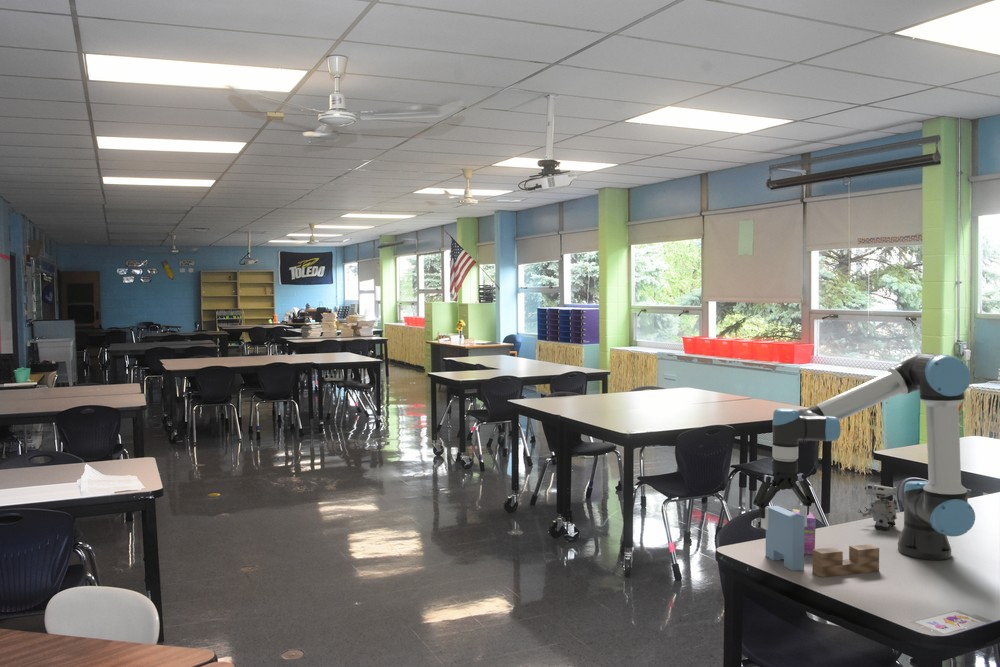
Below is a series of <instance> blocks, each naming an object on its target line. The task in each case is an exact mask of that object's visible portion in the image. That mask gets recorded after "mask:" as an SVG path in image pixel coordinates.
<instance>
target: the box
mask: <svg viewBox="0 0 1000 667" xmlns="http://www.w3.org/2000/svg"><path fill="white" fill-rule="evenodd" d="M791 512H794V513H796V514H798V515H800V509H795V508H794V509H791ZM816 523H817V520H816V518H815V516H814V514H813V513H812V512H811V511H810V510H809V515H807V527H804V553H809V554H808V555H813V549H816V527H817V526H816Z"/></svg>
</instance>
